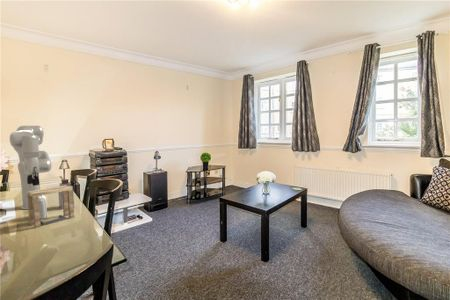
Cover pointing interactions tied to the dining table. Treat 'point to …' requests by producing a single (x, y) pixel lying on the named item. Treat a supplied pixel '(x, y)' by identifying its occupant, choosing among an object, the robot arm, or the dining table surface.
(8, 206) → the dining table surface
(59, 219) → the seat guides
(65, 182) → the beige rectangular block
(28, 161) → the robot arm
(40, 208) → the photo printer
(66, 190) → the wooden display stand
